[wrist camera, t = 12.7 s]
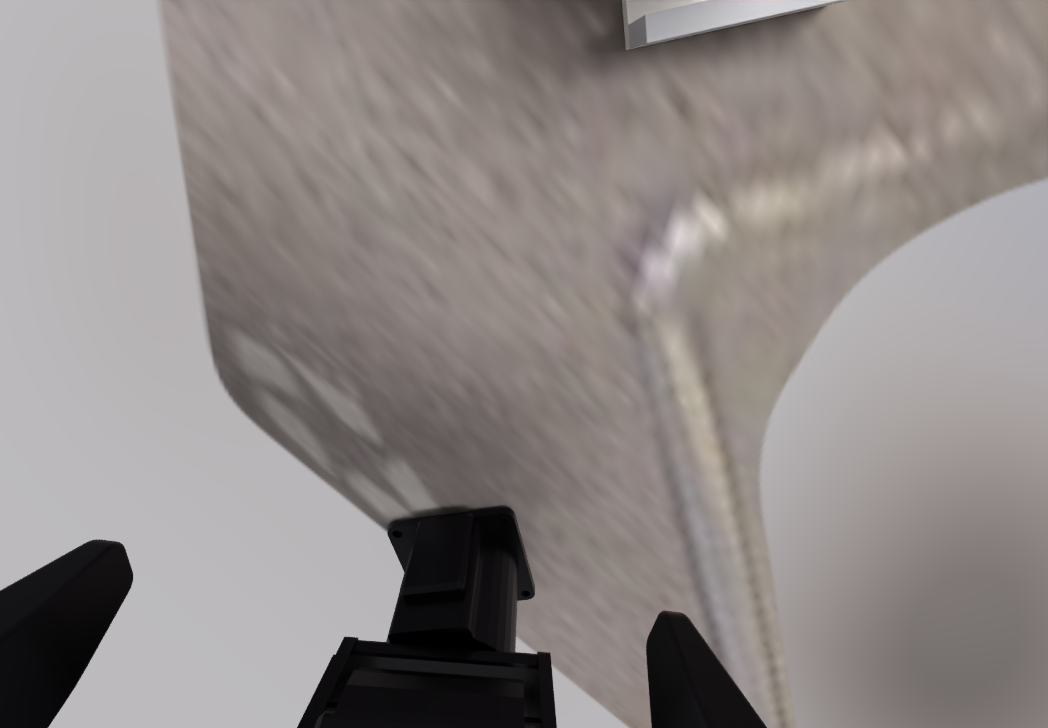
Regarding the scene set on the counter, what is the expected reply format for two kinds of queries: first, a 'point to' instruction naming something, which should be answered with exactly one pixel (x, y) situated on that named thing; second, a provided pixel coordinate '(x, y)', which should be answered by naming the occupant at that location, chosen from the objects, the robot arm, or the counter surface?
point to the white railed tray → (699, 16)
